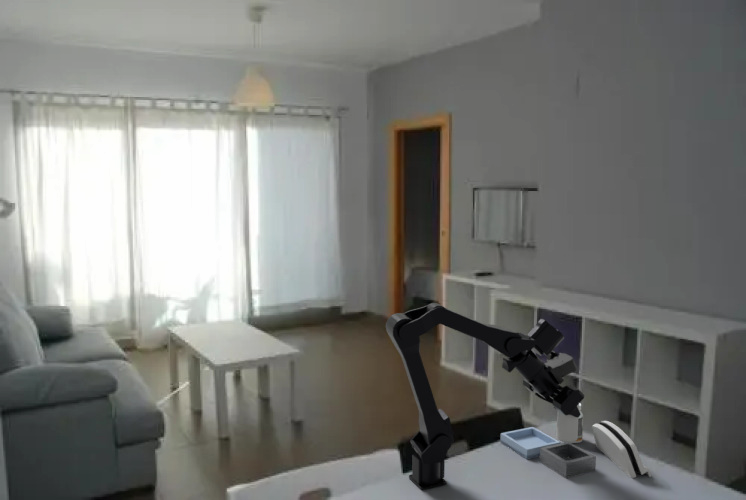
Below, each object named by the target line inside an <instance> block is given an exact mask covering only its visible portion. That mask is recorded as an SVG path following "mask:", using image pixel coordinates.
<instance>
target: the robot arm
mask: <svg viewBox="0 0 746 500" xmlns="http://www.w3.org/2000/svg"><path fill="white" fill-rule="evenodd" d="M438 325H442V326H445V327H447V328H449V329H451V330H454V331H457V332H459V333H462V334H464V335H467V336H469V337H472V338H473V339H477V340H479V341H482V342H483V343H484V344H485V345H487V346H489V347H491V348H492V349H493V350H495V351H497V352H498V353H500V354H501V355H503V356H504V357H503V358H502V366H501V368H502V369H503V370H504V371H506V372H507V373H511V372H513V370H514V369H515V371H517V372H518V374H519V375H520V376H521V378H522V385H523V386H524V387H525V389H527V390H528V391H529V392H531V393H532V394H533V393H534V395H535V396H536V397H538V398H539V399H541V400H543V401H546V402H547V403H549V404H552V406H553V409H555V410H556V411H557V410H558V411H560V412H561V413H563V414H564V415H565V416H566V415H572V416H574V417H577V418H578V417H579V416H580V415H581V414H580V412H579V409H578V407H577V405H578V404H579V403H581V402H583V400H584V399H585V394H584V393H583V392H582V391H581V390H580V389H578V388H577V387H575V386H574V385H571V384H566V385H565V386H562V383H563V382H564V381H565V379H563V378H564V377H566V376H568V375H570V374H571V373H575V372H577V370H578V367H577V365H576V363H575V360H574V357H573V356H571V355H569V354H567V353H565V352H564V353H563V352H559V353H557V352H556V351H554V349H555V348H556V347H558V345H559V344H560V343H561V342H562V341H563V340H564V339H565V336H564V335H563V333H562V331H561V330H559V329H557V328H556V327H554V326H553V325H552V324H550V323H549V322H548V321H547V320H545V319H543V318H540V319H539V320H538V322H537V323H536V324H535V325H534V327H532V329H531V330H530V331H529V332H527V334H524V333H522V332H517V331H513V330H511V329H509V328H508V327H505V326H501V325H497V324H490V323H483V322H481V321H478V320H476V319H473V318H471V317H469V316H466V315H463V314H461V313H459V312H456V311H454V310H452V309H449V308H446V307H444V306H443V305H442V304H439V303H438V302H431V303H429V304H427V305H425V306H422V307H418V308H415V309H411V310H407V311H405V312H403V313H401V312H397V313H393V314H391V315H390V316H389V318H387V321H386V322H385V330H386V333H387V334H388V336H389V339H390V340H391V342H392V344H393V345H394V347H395V349H396V350H397V352H398V354H399V355H400V357H401V360H402V363H403V366H404V369H405V372H406V375H407V378H408V382H409V385H410V388H411V390H412V394H413V397H414V400H415V402H416V403H415V404H416V406H417V409H418V426H419V431H418V432H416V433H415V434H414V436H412V437H411V438H410V445H411V447H412V449H414V451H415V453H413V454H412V456H411V457H412V467H411V474H408V478H409V480H410V481H412V482H413V483H414V484H415V485H416V487H417V486H418V488H419V489H420V490H421V491H422V490H423V491H424V490H428V489H432V488H437V487H440V486H445V485H447V480H446V479H445V464H446V463H445V462H446V461H445V459H446V456H447V454H448V452H449V450H450V449H451V447H452V445H453V444H454V436H453V435H456V432H454V430H453V429H452V422H451V419H450V417H449V416H448V415H447V413H446V412H445V411H444V410H443V409H442V408H439V409H438V406H437V403H436V401H435V396H434V394H433V391H432V388H431V385H430V381H429V379H428V376H427V372H426V369H425V366H424V363H423V360H422V356H421V351H420V350H421V339H420V337H421V336H422V335H425V334H426V333H428V332H429V331H431V330H432V329H433V328H434V327H436V326H438ZM536 354H537V355H536ZM538 355H539V356H542V355H544V356H546V360H545V361H546V362H544V361H542V359H540V358H539V357H538ZM559 390H560V391H559Z"/></svg>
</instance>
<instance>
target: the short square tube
mask: <svg viewBox="0 0 746 500" xmlns="http://www.w3.org/2000/svg"><path fill="white" fill-rule="evenodd" d="M596 456H597V455H594V454H593V453H591V452H588V451H587V450H585V449H584V448H581V447H579V446H578V445H576V444H575V443H567V442H561V443H560V444H556V445H551V446H547V447H542V448H540V456H539V463H541V464H542V465H544V466H546V467H547V468H548V469H550V470H552V471H554V472H555V473H557V474H559V475H560V476H562V477H563V478H564V479H569V478H573V477H576V476H580V475H584V474H588V473H593V472H596V470H597V469H596V466H597V465H596V464H597V463H596V462H597V457H596ZM567 458H568V459H569V460H566V459H567Z"/></svg>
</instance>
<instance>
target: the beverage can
mask: <svg viewBox="0 0 746 500" xmlns="http://www.w3.org/2000/svg"><path fill="white" fill-rule="evenodd" d="M559 391H560V390H559ZM577 407H578V409H579V404H578V405H577ZM556 412H557V413H556V416H557V417H556V436H555V437H556V438H557V439H558V441H560V442H561V443H564V442H567V443H572V442H575V441H576V440H577V438H578V418H577V417H574V416H572V415H566V416H565V415H564V414H563V413H561V412H560V411H558V410H557V409H556ZM572 444H573V443H572Z"/></svg>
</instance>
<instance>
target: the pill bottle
mask: <svg viewBox="0 0 746 500" xmlns="http://www.w3.org/2000/svg"><path fill="white" fill-rule="evenodd" d="M581 410H582V403H581V402H580V403H579V412H580V414H581V415H580V416H579V417H578V438H577V440H576V441H575V442H572V444H579V443H581V442H582V441H583V434H584V433H583V431H584V428H583V426H584V425H583V424H584V414H583V412H582V411H581Z"/></svg>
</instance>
